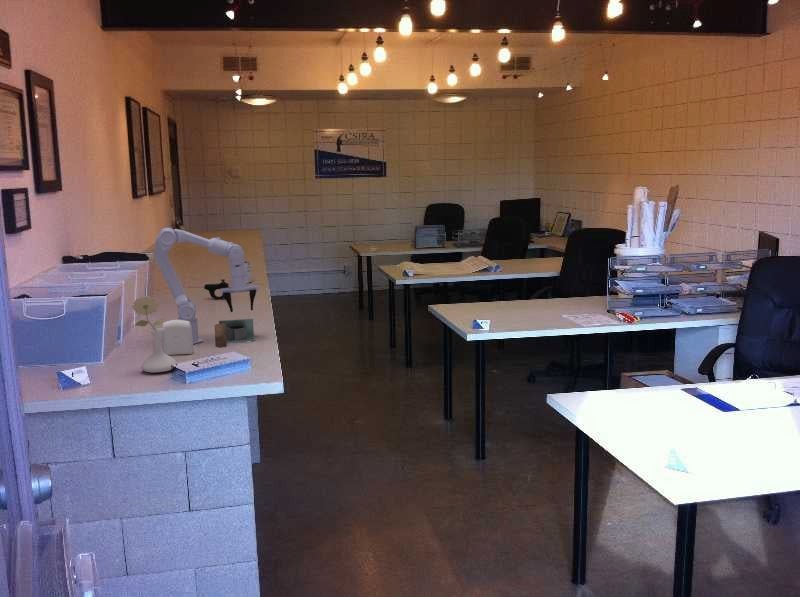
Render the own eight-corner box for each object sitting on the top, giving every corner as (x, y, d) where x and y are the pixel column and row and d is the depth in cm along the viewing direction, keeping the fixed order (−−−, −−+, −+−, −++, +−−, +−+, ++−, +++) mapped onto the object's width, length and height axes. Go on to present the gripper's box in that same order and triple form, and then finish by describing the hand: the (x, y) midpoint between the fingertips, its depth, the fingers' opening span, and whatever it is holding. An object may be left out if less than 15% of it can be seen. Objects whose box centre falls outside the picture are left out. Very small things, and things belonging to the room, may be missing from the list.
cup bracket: (254, 341, 279) (254, 324, 277) (219, 343, 276) (218, 326, 275) (253, 335, 289) (252, 318, 287) (219, 337, 286) (218, 320, 284)
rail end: (221, 347, 270) (219, 326, 268) (213, 346, 272) (212, 325, 270) (228, 345, 273) (227, 324, 272) (221, 344, 275) (220, 323, 274)
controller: (229, 299, 369) (228, 280, 367) (204, 300, 367) (203, 281, 365) (229, 298, 373) (228, 278, 371) (205, 299, 371) (203, 279, 369)
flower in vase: (181, 365, 246) (176, 292, 241) (172, 375, 234) (167, 298, 230) (142, 366, 245) (136, 293, 241) (131, 375, 234) (125, 299, 229)
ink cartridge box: (245, 282, 426) (244, 257, 423) (252, 282, 423) (251, 257, 421) (233, 284, 418) (232, 259, 415) (240, 285, 415) (239, 259, 412)
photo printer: (162, 355, 259) (160, 321, 257) (165, 352, 263) (162, 319, 261) (192, 354, 260) (190, 320, 257) (194, 351, 264) (192, 318, 262)
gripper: (257, 272, 284) (261, 306, 287) (219, 276, 282) (223, 310, 285) (257, 275, 277) (260, 310, 280) (218, 278, 275) (222, 314, 278)
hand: (241, 310), depth 282 cm, fingers open, 7 cm apart
